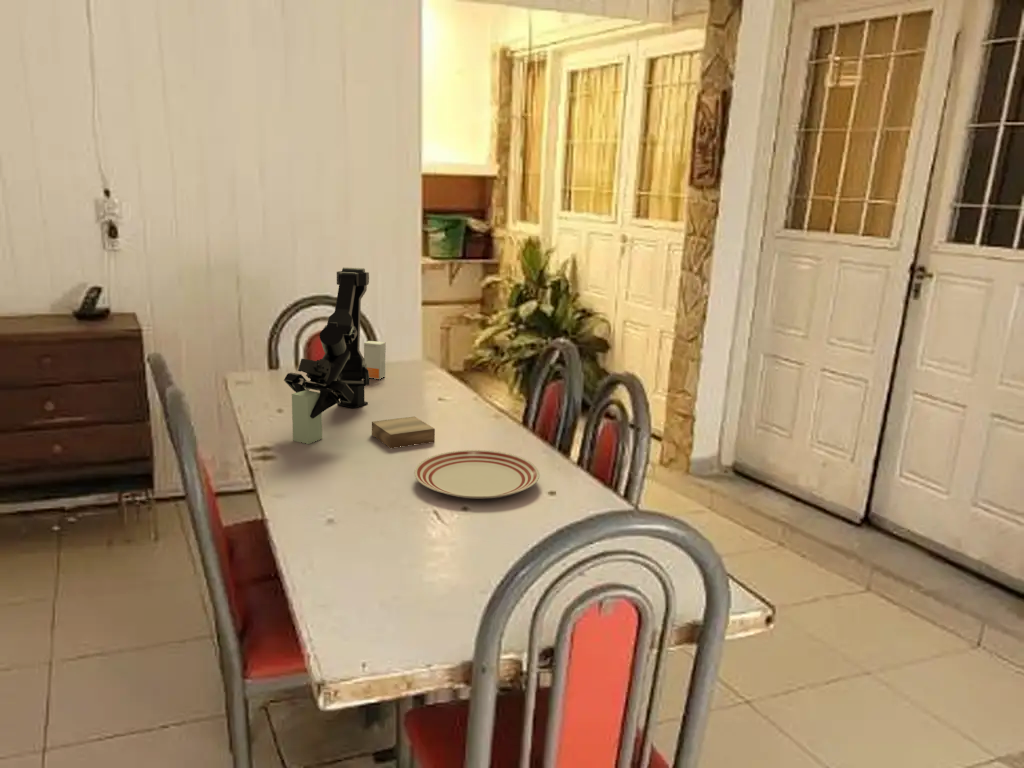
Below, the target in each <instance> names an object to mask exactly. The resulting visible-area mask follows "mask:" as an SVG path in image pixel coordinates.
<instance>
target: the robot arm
mask: <svg viewBox="0 0 1024 768" xmlns="http://www.w3.org/2000/svg"><path fill="white" fill-rule="evenodd" d="M369 283H370V272H367V271H366V269H365V268H362V267H342V269H341V270H340V271H336V286H337V285H338V288H337V289H338V290H337V294H336V295H337V296H336V301H335V302H336V303H335V306H334V307H335V309H334V312H333V313H332V314H331V315H330V316H329V317H328V319H327V324H325V325H324V327H323V329H321V331H320V333H319V340H320V343H321V347H322V349H323V352H324V355H323V356H322V358H319V359H317V360H312V359H307V358H301V359H300V362H299V365H298V369H297V371H298V372H302V373H305V374H306V375H305V376H306V377H307V378H308V379H310V380H307V379H306V378H305V377H304V376H303V375H302V374H301V373H296V372H288V373H287V374H286V376H285V378H284V379H283V381H284V382H285V383H286V384H287V386H288V387H290V389H292V391H294V393H297V392H301V391H304V390H308V391H311V390H312V391H313V390H315V391H317V392H319V393H320V397H319V399H318V401H317V403H316V404H315V406H314V408H313V410H312V412H311V415H310V417H311V418H315V417H316V416H318V415H319V414H321V413H323V412H325V411H326V410H328V409H330V408H332V407H333V406H334V405H335V406H336V405H337V406H340V407H341V406H342V407H345V408H351V409H358V408H359V406H360V407H362V406H366V405H368V404H369V402H368V401H366V400H365V387H366V386H369V385H370V379H369V371H368V370H367V367H366V365H365V359H364V355H363V354H362V352H361V351H360V343H361V342H360V341H361V340H360V338H361V336H360V335H361V301H362V298H364V295H365V294H366V292H367V289H368V288H367V287H368V285H369Z"/></svg>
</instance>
